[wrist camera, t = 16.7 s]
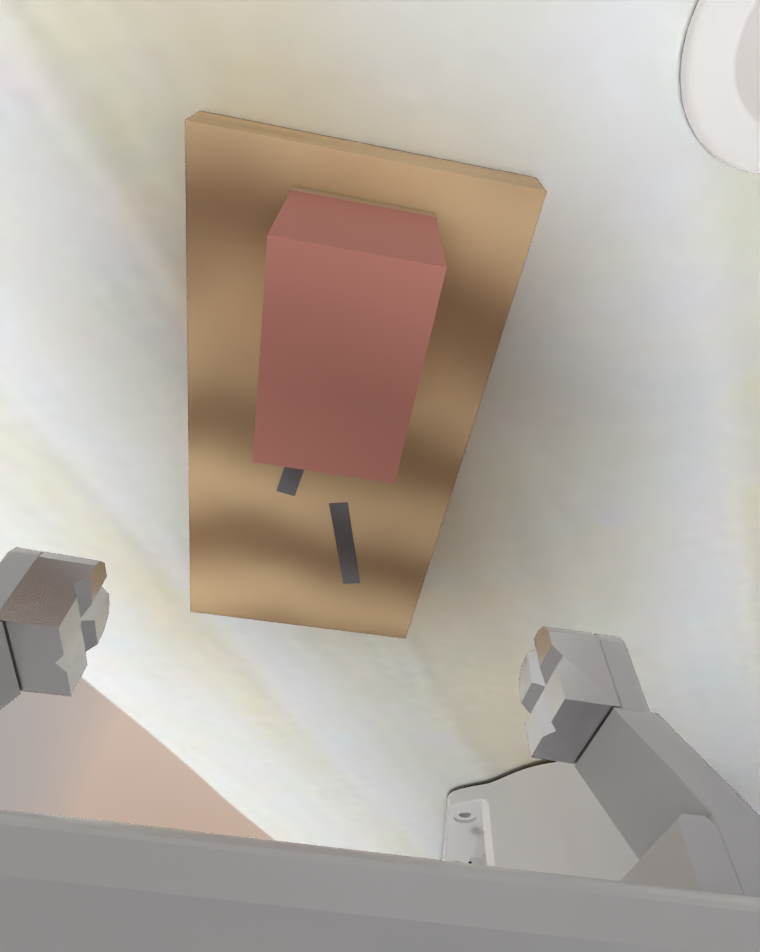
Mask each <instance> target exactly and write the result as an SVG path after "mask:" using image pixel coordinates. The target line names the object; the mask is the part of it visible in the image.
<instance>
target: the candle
mask: <svg viewBox="0 0 760 952" xmlns="http://www.w3.org/2000/svg"><path fill="white" fill-rule="evenodd" d="M680 80H681V94H682V101H683V106H684V110H685V113H686V116H687V119H688V122H689V124H690V126H691V128H692V130H693V132H694V134H695V136H696V137H697V138H698V140H699V141H700V143H701V144H702V145H703V146H704V147H705V148H706V149H707V150H708V151H709V152H710V153H711V154H712V155H714V156H715V157H716V158H718V159H720V160H721V161H723V162H725V163H727V164H729V165H731V166H733V167H735V168H737V169H740V170H744V171H747V172H752V173H759V174H760V0H699V1H698V3H697V6H696V8H695V10H694V13H693V16H692V19H691V21H690V24H689V28H688V31H687V35H686V38H685V43H684V48H683V53H682V61H681V78H680Z"/></svg>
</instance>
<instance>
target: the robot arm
mask: <svg viewBox="0 0 760 952" xmlns="http://www.w3.org/2000/svg"><path fill="white" fill-rule="evenodd" d="M106 576H107V575H106V569H105V563H103V562H101V561H97V560H91V559H85V558H79V557H74V556H68V555H62V554H56V553H50V552H42V551H36V550H31V549H25V548H19V547H16V548H14V549H13V550H11V551H9V552H8V553H7V554H6V555H5V557H4V558H3V559H2V561H1V562H0V710H1V709H2V708H3V707H5V706H6V705H7V704H8V703H10V702H11V701H12V700H14V699H15V698H16V697H17V696H19V695H20V694H21V692H20V691H26V692H34V693H45V694H53V695H63V696H72V694H73V692H74V690H75V688H76V686H77V684H78V682H79V680H80V678H81V676H82V674H83V672H84V670H85V668H86V666H87V659H86V651H87V650H89V649H91V648H92V647H94V646H95V645H97V644H98V642H99V640H100V638H101V636H102V634H103V631H104V628H105V625H106V621H107V618H108V613H109V593H108V592H107V591H106V590H105V589H104V588H103V587H102V584H103V582H104V580H105V578H106ZM534 642H535V647H536V649H535V650H533V651H531V652H529V653H528V654H526V657H525V659H524V661H523V663H522V666H521V672H520V678H519V690H520V697H521V703H522V704H523V705H524V707H525V708H526V709H527V710H528V711H529V713H530V716H529V718H528V720H527V721H526V723H525V727H526V732H527V738H528V744H529V749H530V755H531V757H533V758H539V759H546V760H552V761H558V762H552V763H546V764H542V765H537V766H533V767H530V768H526V769H523V770H520V771H517V772H515V773H512V774H510V775H508V776H505V777H503V778H501V779H499V780H496V781H494V782H491V783H488V784H482V785H477V786H471V787H466V788H462V789H458V790H455V791H453V792H451V793H450V794H449V795H448V798H447V808H446V819H445V829H444V840H443V850H442V860H436V859H427V858H419V857H410V856H402V855H393V854H385V853H377V852H368V851H360V850H351V849H343V848H334V847H326V846H317V845H309V844H300V843H292V842H283V841H275V840H265V839H257V838H249V837H240V836H231V835H223V834H214V833H206V832H198V831H189V830H180V829H172V828H163V827H154V826H146V825H138V824H129V823H120V822H111V821H104V820H95V819H87V818H78V817H70V816H61V815H52V814H44V813H35V812H27V811H19V810H10V809H2V808H0V952H760V816H759V815H758V814H757V813H756V812H755V811H754V810H753V809H752V808H751V807H750V806H749V805H748V804H747V803H746V802H745V801H744V800H743V799H742V798H741V797H740V796H739V795H738V794H737V793H736V792H735V791H734V790H733V789H732V788H731V787H730V786H729V785H728V784H727V783H726V782H725V781H724V780H723V779H722V778H721V777H720V776H719V775H718V774H717V773H716V772H715V771H714V770H713V769H712V768H711V767H710V766H709V765H708V764H707V763H706V762H705V761H704V760H703V759H702V758H701V757H700V756H699V754H698V753H697V752H696V751H695V750H694V749H693V748H692V747H691V746H690V745H689V744H688V743H687V742H686V741H685V740H684V739H683V738H682V737H681V736H680V735H679V734H678V733H677V732H676V731H675V730H674V729H673V728H672V727H671V726H670V725H669V724H668V723H667V722H666V721H665V720H664V719H663V718H662V717H661V716H660V715H659V714H657V713H652V712H650V711H649V708H648V705H647V702H646V700H645V697H644V694H643V691H642V689H641V686H640V683H639V680H638V678H637V675H636V672H635V669H634V667H633V664H632V661H631V659H630V656H629V653H628V650H627V648H626V645H625V642H624V641H623V640H622V639H621V638H620V637H615V636H608V635H601V634H592V633H588V632H581V631H573V630H566V629H559V628H551V627H544V626H543V627H542V628H541V629H539V630H538V632H537V634H536V636H535V638H534Z"/></svg>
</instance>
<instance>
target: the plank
mask: <svg viewBox="0 0 760 952" xmlns="http://www.w3.org/2000/svg"><path fill="white" fill-rule="evenodd" d="M185 163H186V255H187V347H188V439H189V531H190V612H198V613H206V614H214V615H222V616H230V617H238V618H246V619H254V620H262V621H270V622H278V623H286V624H294V625H302V626H310V627H318V628H326V629H334V630H342V631H350V632H358V633H366V634H374V635H382V636H390V637H398V638H406V635H407V632H408V629H409V626H410V623H411V620H412V616H413V613H414V610H415V607H416V604H417V601H418V597H419V594H420V591H421V588H422V585H423V582H424V578H425V575H426V572H427V569H428V566H429V563H430V559H431V556H432V553H433V550H434V547H435V544H436V541H437V537H438V534H439V531H440V528H441V525H442V522H443V518H444V515H445V512H446V509H447V506H448V503H449V499H450V496H451V493H452V490H453V487H454V484H455V480H456V477H457V474H458V471H459V468H460V465H461V461H462V458H463V455H464V452H465V449H466V446H467V442H468V439H469V436H470V433H471V430H472V427H473V424H474V420H475V417H476V414H477V411H478V408H479V405H480V401H481V398H482V395H483V392H484V389H485V386H486V382H487V379H488V376H489V373H490V370H491V367H492V363H493V360H494V357H495V354H496V351H497V348H498V344H499V341H500V338H501V335H502V332H503V329H504V325H505V322H506V319H507V316H508V313H509V310H510V307H511V303H512V300H513V297H514V294H515V291H516V288H517V284H518V281H519V278H520V275H521V272H522V269H523V265H524V262H525V259H526V256H527V253H528V250H529V246H530V243H531V240H532V237H533V234H534V231H535V227H536V224H537V221H538V218H539V215H540V212H541V208H542V205H543V202H544V199H545V196H546V193H547V191H546V190H545V188H544V187H543V186H542V185H541V183H540V182H539V181H538V179H537V178H534V177H529V176H524V175H519V174H514V173H509V172H504V171H499V170H494V169H489V168H484V167H479V166H474V165H469V164H464V163H459V162H454V161H449V160H444V159H439V158H434V157H429V156H424V155H419V154H414V153H409V152H404V151H399V150H394V149H389V148H384V147H379V146H374V145H368V144H363V143H358V142H353V141H348V140H343V139H338V138H333V137H328V136H323V135H318V134H313V133H308V132H303V131H298V130H293V129H288V128H283V127H278V126H273V125H268V124H263V123H258V122H253V121H248V120H243V119H238V118H233V117H228V116H223V115H218V114H213V113H208V112H203V111H199V112H197V113H196V114H194V115H192V116H191V117H189V118H187V119H186V120H185ZM292 186H297V187H302V188H307V189H313V190H318V191H323V192H328V193H334V194H339V195H344V196H349V197H355V198H360V199H365V200H371V201H376V202H381V203H386V204H392V205H397V206H402V207H407V208H413V209H418V210H423V211H429V212H434V213H436V217H437V222H438V227H439V232H440V237H441V241H442V246H443V251H444V256H445V261H446V266H447V269H446V273H445V277H444V281H443V285H442V289H441V293H440V298H439V302H438V306H437V310H436V314H435V318H434V322H433V327H432V331H431V335H430V339H429V343H428V347H427V351H426V356H425V360H424V364H423V368H422V372H421V376H420V380H419V385H418V389H417V393H416V397H415V401H414V405H413V409H412V414H411V418H410V422H409V426H408V430H407V434H406V438H405V443H404V447H403V451H402V455H401V459H400V463H399V467H398V472H397V476H396V480H395V483H390V482H383V481H376V480H370V479H363V478H356V477H349V476H342V475H336V474H329V473H322V472H315V471H309V470H302V469H295V468H288V467H281V466H275V465H268V464H261V463H254V462H253V449H254V434H255V418H256V403H257V387H258V372H259V356H260V341H261V326H262V310H263V295H264V279H265V264H266V248H267V235H268V233H269V231H270V229H271V227H272V225H273V223H274V221H275V219H276V217H277V215H278V213H279V211H280V210H281V208H282V206H283V204H284V202H285V200H286V198H287V196H288V194H289V192H290V190H291V188H292Z"/></svg>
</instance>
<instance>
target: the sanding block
mask: <svg viewBox="0 0 760 952" xmlns="http://www.w3.org/2000/svg"><path fill="white" fill-rule="evenodd" d="M446 269H447V266H446V261H445V256H444V251H443V246H442V241H441V237H440V232H439V227H438V222H437V217H436V213H434V212H429V211H423V210H418V209H413V208H407V207H402V206H397V205H392V204H386V203H381V202H376V201H371V200H365V199H360V198H355V197H349V196H344V195H339V194H334V193H328V192H323V191H318V190H313V189H307V188H302V187H297V186H292V188H291V190H290V192H289V194H288V196H287V198H286V200H285V202H284V204H283V206H282V208H281V210H280V211H279V213H278V215H277V217H276V219H275V221H274V223H273V225H272V227H271V229H270V231H269V233H268V235H267V248H266V264H265V279H264V295H263V310H262V326H261V341H260V356H259V372H258V387H257V403H256V418H255V434H254V449H253V462H254V463H261V464H268V465H275V466H281V467H288V468H295V469H302V470H309V471H315V472H322V473H329V474H336V475H342V476H349V477H356V478H363V479H370V480H376V481H383V482H390V483H395V480H396V476H397V472H398V467H399V463H400V459H401V455H402V451H403V447H404V443H405V438H406V434H407V430H408V426H409V422H410V418H411V414H412V409H413V405H414V401H415V397H416V393H417V389H418V385H419V380H420V376H421V372H422V368H423V364H424V360H425V356H426V351H427V347H428V343H429V339H430V335H431V331H432V327H433V322H434V318H435V314H436V310H437V306H438V302H439V298H440V293H441V289H442V285H443V281H444V277H445V273H446Z"/></svg>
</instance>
